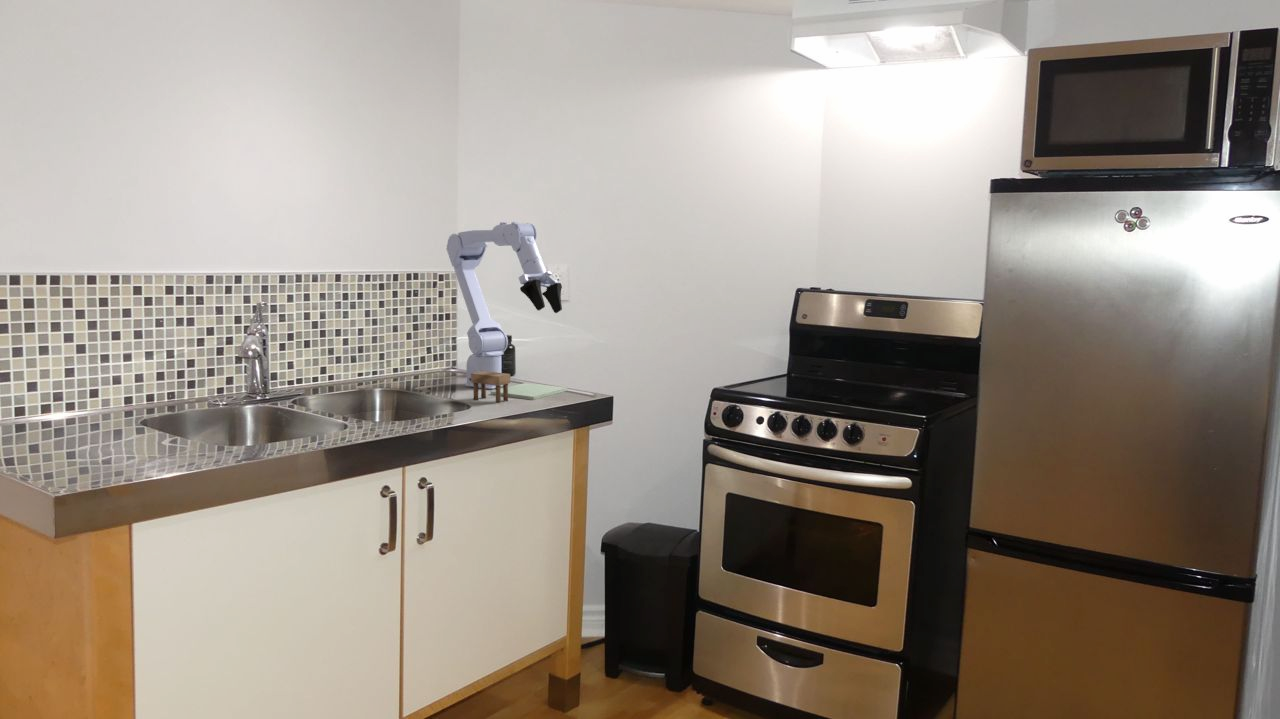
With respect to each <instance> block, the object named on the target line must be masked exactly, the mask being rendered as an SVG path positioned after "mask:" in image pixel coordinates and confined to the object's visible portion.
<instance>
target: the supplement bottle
mask: <svg viewBox="0 0 1280 719" xmlns="http://www.w3.org/2000/svg"><path fill="white" fill-rule="evenodd" d="M506 336H507V339H508V345H507V348H506V350H505V351H504V354H503V355H501V372H502V373H506V374H510V377H512V376H515V375H516V372H517V371H516V369H517V365H516V363H517V362H516V361H517V360H516V346H515V345H514V344H513V343H512V342H513V338H512V335H511V334H506Z"/></svg>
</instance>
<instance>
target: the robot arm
mask: <svg viewBox="0 0 1280 719" xmlns="http://www.w3.org/2000/svg"><path fill="white" fill-rule="evenodd" d="M536 240H537V230H536V227H535V226H534V225H533V223H529V222H526V223H523V222H521V223H519V222H517V221H511V223H507V222H506V221H504V222H503V221H502V222H501V221H500V222H499V224H496V225H495V226H494V227H493V228H492V229H486V230H485V229H483V230H482V229H480V230H477V229H476V230H474V229H473V230H467V231H460V232H457V233H453V234H451V235H450V236H449V237H448V239H447V244H446V252H447V254H448V259H449V260H450V261H449V262H450V263H451V266H452V267H453V269H454V273H455V276H456V279H457V282H458V285H459V288H460V290H461V293H462V297H463V299H464V303H465V305H466V308H467V311H468V315H469V317H470V320H471V323H472V325H471V326H470V327H469V329H468V330H467V333H466V334H467V337H468V347H469V349H470V351H471V353H472V354H470V355H469V356H468V358H467V361H466V383H465V384H464V386H465V387H470V388H471V387H472V388H474V386H473V383H471V373H475V372H480V371H488V372H497V373H502V372H501V355H503V354H504V351H505V350H506V348H507V345H508V339H507V336H506V335H507V334H506V333H505V331H504V330H503V328H502V326H501V324H500V323H498V322H497V321H495V320H494V319H492V317H491V315H490V312H489V308H488V306H487V303H486V300H485V297H484V294H483V291H482V288H481V285H480V283H479V280H478V277H477V274H476V271H475V268H477V267H479V265H480V264H481V261H482V260H483V257H484V255H485V253H486V250H487V248H488V246H489V244H488V243H494V244H495V245H496V246H498V247H504V246H505V247H508V246H511V248H512V250H513V251H514V252H515V253H516V257H517V258H518V260H519V263H520V266H521V269H522V271H523V274H522V275H520V276H519V277H518V280H519V282H520V284H521V285H522V286H521V287H520V288H519V289H520V292H522V294H524V295H525V296H526V297H527V298H528V299H529V301H530V302H531V303H532V304H533V307H535V309H536V311H541V310H542V309H544V308H545V306H546V304H545V300H544V298H546V300H547V302H548V303H549V305H550V307H551V310H552V312H554V313H555V314H557V313H559V312H561V311H562V310H563V306H562V298H561V296H562V288H563V286H562V283H561V282H558V280H556V279H554V278H553V277H552V274H553V273H552V272H551V271H550V270H549V271H548V270H547V269H546V266H545V263H544V260H543V258H542V255H541V253H540V251H539V248H538V246H537V245H538V244H537V243H536ZM542 287H544V288H545V291H543V292H542ZM500 388H503V385H500ZM478 389H481V384H480V383H478ZM487 389H488V390H494V389H496V385H488V384H486V390H487Z"/></svg>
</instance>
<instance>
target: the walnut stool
mask: <svg viewBox="0 0 1280 719" xmlns="http://www.w3.org/2000/svg"><path fill="white" fill-rule="evenodd" d="M471 383H473V386H474V387H473V401H479V388H478V383H480V384H481V388H480V392H481V393H480V394H481V395H480V397H481V399H486V398H487V389H486V384H488V385H496V388H495V390H496V395H495V403H496V404H501V403H500V402H502V400H501V398H502V397H503V398H502V399H503V402H508V401H509V397H508V387H509V384H511V376H510V374H506V373H497V372H488V371H480V372H475V373H471ZM500 385H503V386H502V389H503V396H502V397H501V394H500V389H501V387H500Z"/></svg>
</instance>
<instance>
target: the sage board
mask: <svg viewBox="0 0 1280 719" xmlns="http://www.w3.org/2000/svg"><path fill="white" fill-rule="evenodd" d="M566 391H567V392H568V388H567V387H566V386H565V387H563V386H555V385H546V384H537V383H529V382H524V383H520V384H516V385H515V384H514V385H511V386H508V398H510V397H511V398H515V399H517V398H518V399H524V400H532V401H533V400H534V401H535V400H538V399H541V398H544V397H549V396H552V395H553V396H554V395H556V394H559V393H564V392H566ZM500 394H501V396H502V397H503V388H500ZM490 395H493V396H496V389H495V390H492V391H490Z"/></svg>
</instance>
